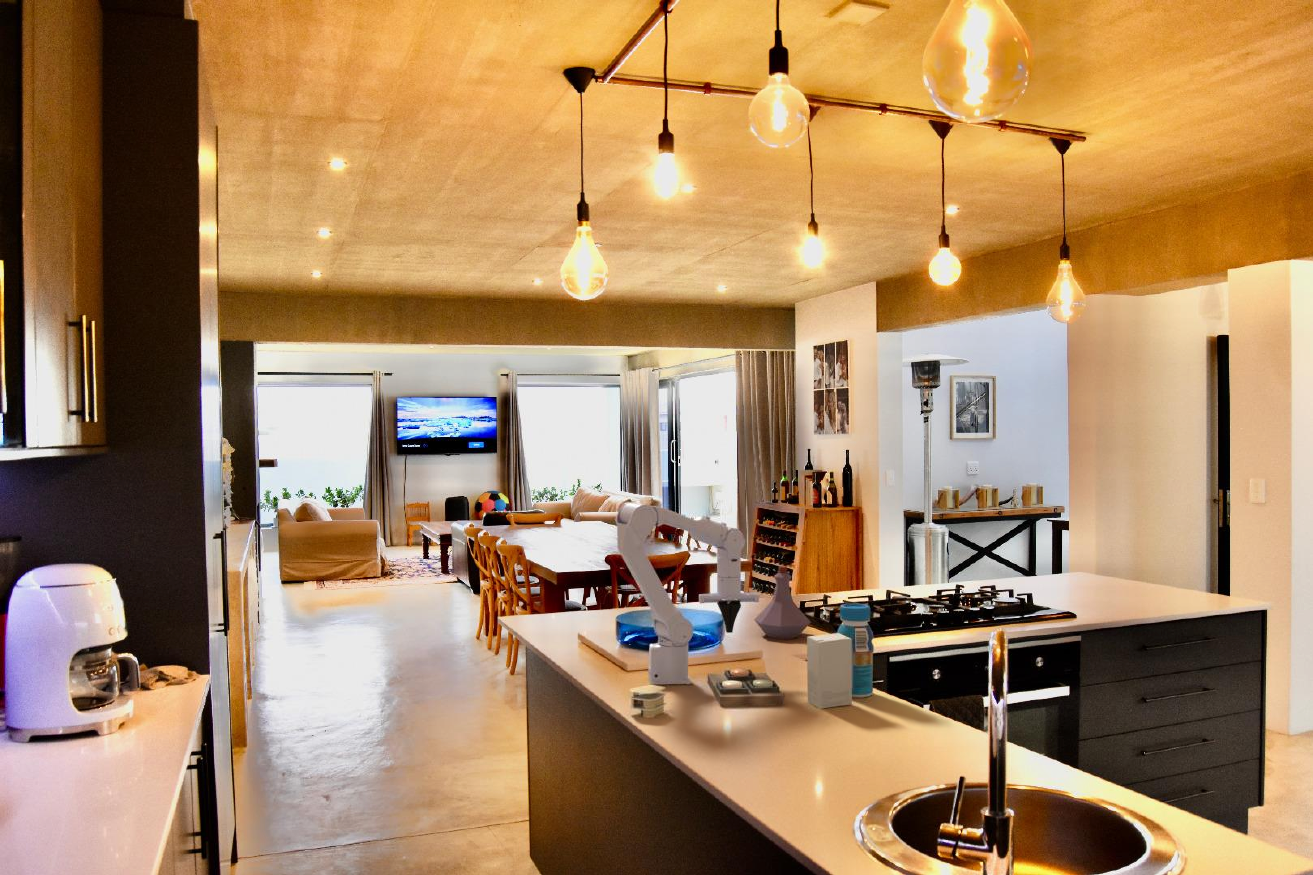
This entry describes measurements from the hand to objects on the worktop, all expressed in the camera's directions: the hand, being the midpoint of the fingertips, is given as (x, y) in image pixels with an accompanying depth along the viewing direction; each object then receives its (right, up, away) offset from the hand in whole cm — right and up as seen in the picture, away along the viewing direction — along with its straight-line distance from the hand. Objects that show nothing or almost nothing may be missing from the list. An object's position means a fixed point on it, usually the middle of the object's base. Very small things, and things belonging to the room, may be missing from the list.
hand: (729, 631), depth 240 cm
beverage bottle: (+27, -11, -17) cm, 34 cm away
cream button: (-1, -9, -22) cm, 24 cm away
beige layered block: (-20, -11, -33) cm, 40 cm away
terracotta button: (+2, -9, -11) cm, 14 cm away
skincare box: (+20, -11, -25) cm, 34 cm away
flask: (+19, -10, +46) cm, 51 cm away
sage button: (+6, -9, -21) cm, 23 cm away
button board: (+2, -11, -17) cm, 20 cm away
